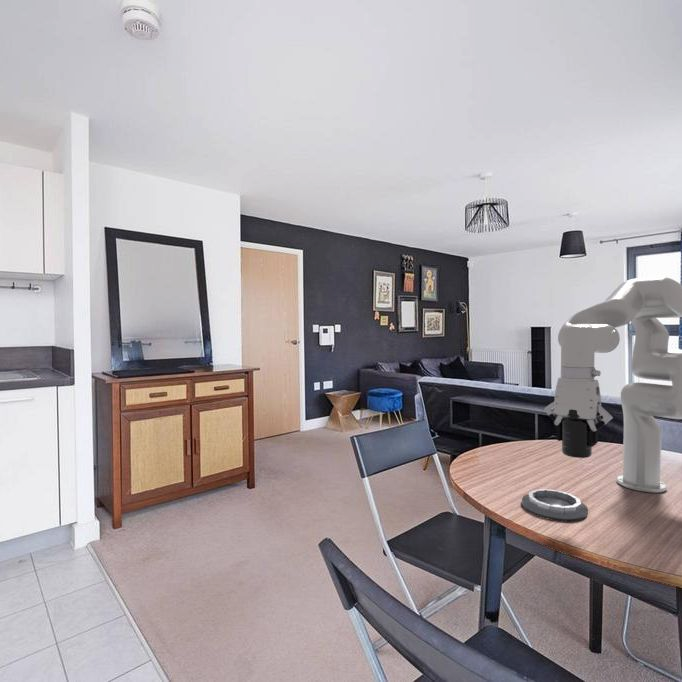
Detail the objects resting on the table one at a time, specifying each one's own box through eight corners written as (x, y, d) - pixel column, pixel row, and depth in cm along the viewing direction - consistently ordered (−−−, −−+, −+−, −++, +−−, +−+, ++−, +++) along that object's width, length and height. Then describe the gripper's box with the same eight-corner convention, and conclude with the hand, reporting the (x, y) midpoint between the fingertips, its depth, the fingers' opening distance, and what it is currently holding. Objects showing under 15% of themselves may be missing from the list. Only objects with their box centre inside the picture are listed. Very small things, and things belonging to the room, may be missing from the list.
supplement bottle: (580, 450, 116) (581, 405, 116) (597, 458, 110) (598, 410, 109) (556, 450, 116) (556, 405, 115) (571, 459, 109) (571, 411, 109)
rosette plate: (538, 492, 130) (538, 482, 130) (597, 509, 118) (597, 499, 118) (510, 506, 120) (511, 496, 119) (572, 527, 107) (572, 516, 107)
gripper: (620, 375, 108) (619, 446, 109) (548, 369, 121) (548, 434, 122) (610, 378, 103) (609, 453, 104) (536, 372, 116) (536, 439, 117)
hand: (576, 442), depth 113 cm, fingers closed on supplement bottle, 6 cm apart
